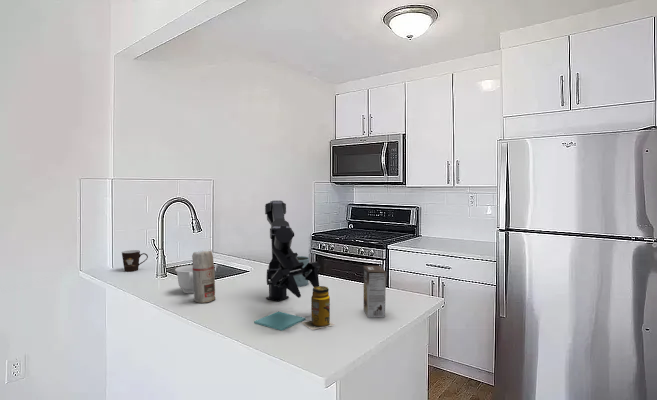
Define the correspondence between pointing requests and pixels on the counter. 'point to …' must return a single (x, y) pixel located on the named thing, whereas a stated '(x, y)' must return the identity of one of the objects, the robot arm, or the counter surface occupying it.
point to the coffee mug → (132, 260)
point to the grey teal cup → (300, 278)
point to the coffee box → (374, 291)
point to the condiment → (319, 309)
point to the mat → (279, 320)
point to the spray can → (203, 276)
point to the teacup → (185, 278)
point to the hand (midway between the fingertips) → (309, 294)
